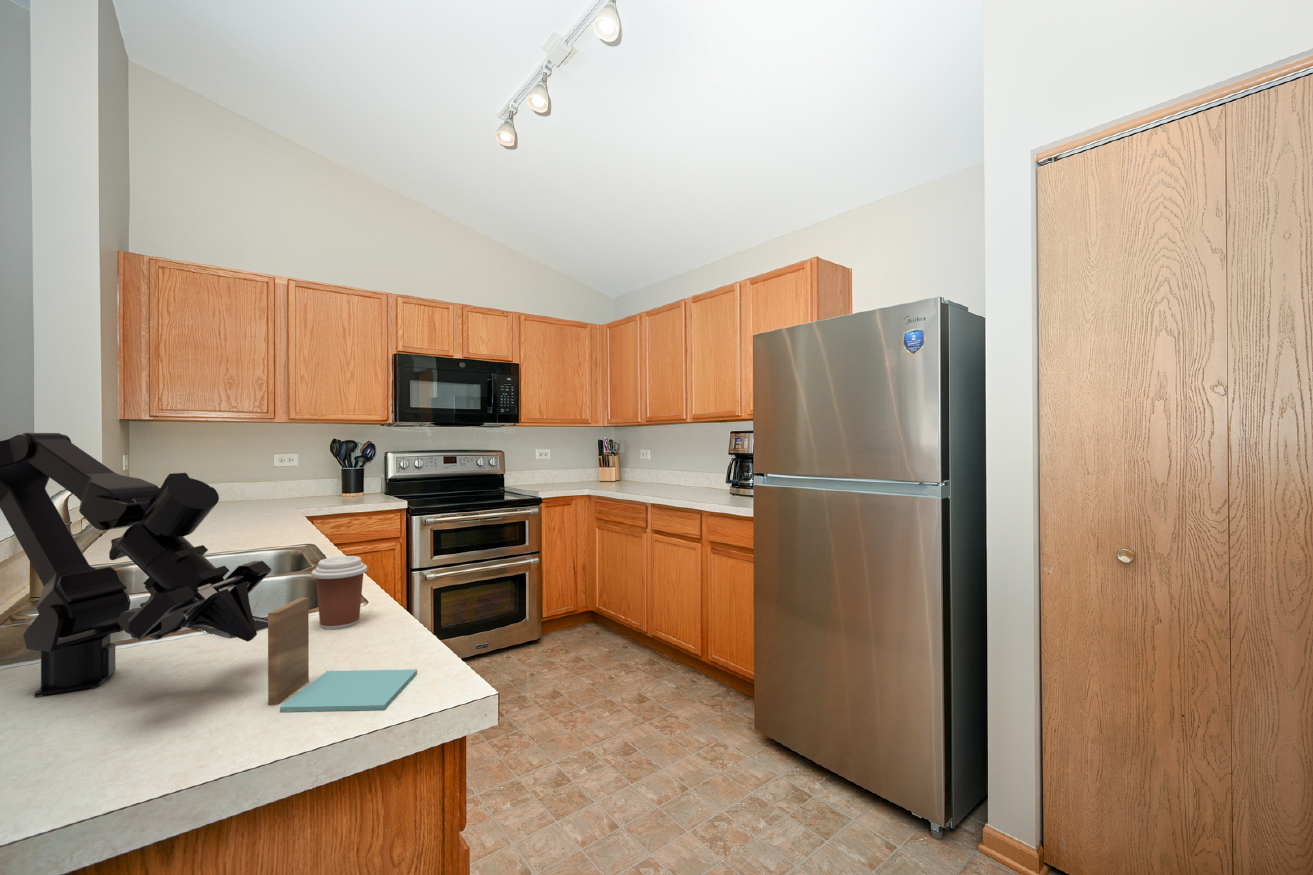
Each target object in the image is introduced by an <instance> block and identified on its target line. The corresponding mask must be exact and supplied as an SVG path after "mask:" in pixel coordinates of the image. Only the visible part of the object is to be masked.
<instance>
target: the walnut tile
mask: <svg viewBox="0 0 1313 875" xmlns="http://www.w3.org/2000/svg"><path fill="white" fill-rule="evenodd" d="M309 609H310V608H309V597H299V598H297V599H294V600H293V601H291V602H288V603H287V604H284V605H283V606H280V607H278V608H276V609H273V610H272V611H270V612H268V613H267V619H268V628H267V704H268V705H267V706H279V705H280V704H281V703H282V702H284V701H285V700H286V699H288V698H289V697H290V696H291V695H293V694H294V693H295V692H297V691H298V690H300V689H301V688H302V687H303V686H305V685H306V684H307V683H309V682H310V681H309V680H310V679H309V676H310V675H309V674H310V673H309V669H310V668H309V666H310V661H309V653H310V652H309V651H310V650H309V648H310V647H309V645H310V643H309V642H310V641H309V639H310V638H309V636H310V635H309V630H310V629H309V628H310V627H309V622H310V621H309V619H310V618H309V616H310V615H309V613H310V612H309Z"/></svg>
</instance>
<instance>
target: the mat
mask: <svg viewBox="0 0 1313 875" xmlns="http://www.w3.org/2000/svg"><path fill="white" fill-rule="evenodd" d="M417 674H418V669H369V670H368V669H364V670H363V669H362V670H361V669H360V670H357V669H356V670H355V669H354V670H326V671H325V672H324V673H322V674H321V675H320V676H319V677H317V678H316V679H314V680H313V681H312V682H310V684H308V685H306V686H305V687H304V688H303V689H301V690H300V691H298V693H296V694H295V695H294V696H292V697H291V698H290V699H288V700H287V701H286V702H284V704H282V705H281V706H280V707H279V713H287V712H288V713H289V712H290V713H293V712H295V713H296V712H298V713H299V712H336V711H340V712H341V711H347V712H348V711H349V712H350V711H385V709H387V707H389V705H390V704H391V703H392V701H393V700H394V699H396V697H398V695H399V694H400V693H401V692H403V689H405V687H407V685H408V684H409V683H410V682H411V681H412V680H413V678H415V677H416V675H417Z"/></svg>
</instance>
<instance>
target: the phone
mask: <svg viewBox="0 0 1313 875" xmlns="http://www.w3.org/2000/svg"><path fill="white" fill-rule="evenodd" d="M252 616H253V620H254V624H255V628H256V632H257V633H258V632H260V631H263V630H266V629H267V630H268V618H265V617H260V616H256V615H252ZM264 618H265V619H264ZM255 620H256V621H255ZM209 627H210V626H207V625H193V626H187V627H186V628H187V629H191V630H194V629H202V630H205V631H206V632H207V633H206V632H205V633H206V634H210V635H213V634H215V635H214V636H217V635H218V637H221V638H226V639H235V638H237V637H235V636H233V635H230V634H228V633H226V632H223V631H221V630H218V629H216V628H210V629H209ZM197 631H199V632H202V631H201V630H197Z"/></svg>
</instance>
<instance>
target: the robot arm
mask: <svg viewBox="0 0 1313 875" xmlns="http://www.w3.org/2000/svg"><path fill="white" fill-rule="evenodd" d="M50 479H51V480H52V481H54V482H55V483H57V484H58V485H59V486H61V487H62V488H64V489H65V490H67V492H69V493H70V494H71V495H74V497H76V498H77V499H78V500H79V501H80V503H79V510H78V511H79V513H80V514H81V516H83V517H84V518H85V520H86V521H87V522H88V523H89V524H90V525H91V526H92V527H93V528H95V529H96V530H99V531H108V530H109V531H110V530H117V529H123V528H125V529H126V528H127V529H126V530H125V531H124V533H123V534H122V535H121V536H119V537H116V538H112V539H111V541H110V543H111V547H110V550H109V553H108V555H109V560H111V561H115V560H118V559H121V558H124V557H128V559H129V560H131V562H132V563H134V564H135V565H136V566H137V567H138V568H139V569H140V570H141V571H142V572H143V573H144V574H145V575H147V577H148V578H147V579H146V580H145V581H144V582H143V584H144V585H145V586H144V589H146V591H147V592H148V593H149V594H150V596H149V597H148V599H147V600H146V601H145V602H142V603H140V604H139V607H134V608H131V609H130V607H131V603H132V602H131V599H130V596H129V594H128V593H127V592H126V590H127V586H126V585H125V584H123V583H122V581H121V580H120V578H119V576H118V573H117V571H116V569H114V568H113V567H111V566H108V567H106V566H105V567H102V568H96V567H94V566H91V565H90V564H89V562H88V560H87V558H86V557H85V555H84V553H83V551H82V550H81V548H80V547H79V545H78V543H77V541H76V540H75V538H74V536H73V535H72V532H71V531H70V529H69V527H68V525H67V524H66V522H65V521H64V519H63V516H61V514H60V513H59V511H58V509H57V507H56V505H55V504H54V502H53V500H52V498H51V496H50V495H49V493H48V491H47V489H46V487H47V485H48V482H49V480H50ZM219 496H220V495H219V493H218V492H217V490H216V489H215V488H214V487H212V486H210V485H209V484H207V483H206V482H204V481H202V480H199V479H196V478H193V477H190V476H189V475H188V473H187V472H174V473H169V474H168V475H167V476H166V477H165V478H164V481H163V483H162V485H161V486H160V487H159V486H158V485H157V484H154V483H152V482H149V481H147V480H144V479H142V478H140V477H139V478H138V477H134V476H133V477H132V476H126V475H122V474H119V473H117V472H115V471H113V470H112V469H110V468H109V467H108V466H106V465H105V464H103V463H101V462H100V461H98V460H97V459H96V458H94V457H93V456H92V455H90V454H88V453H87V452H85V451H84V450H83V449H81V448H80V447H78V446H77V445H75V443H72V440H71V438H70V437H69V436H68V435H67V434H63V433H60V432H24V433H21V434H16V435H14V436H12V437H10V438H7V439H5V440H0V510H1V512H2V514H3V516H4V517H5V519H6V521H7V523H8V525H9V526H10V528H11V530H12V532H13V534H14V535H15V538H16V539H17V541H18V543H19V544H20V546H21V548H22V549H23V552H24V554H25V555H26V556H27V558H28V560H29V562H30V564H31V566H32V567H33V569H34V572H35V573H36V574H37V576H38V579H40V582H41V583H42V586H43V588H42V591H41V594H40V596H39V599H38V601H37V605H36V609H37V610H36V611H37V613H38V615H37V616H36V617H35V618H34V620H33V621H32V622H31V623H30V625H29V626H28V627H27V629H26V630H25V631H24V632H23V639H24V643H25V647H26V650H31V651H36V652H37V651H39V652H40V688H38V689H37V690H36V691H34V693H33V695H34V696H33V697H39V696H45V695H52V694H59V693H65V692H73V691H80V690H85V689H93V688H97V687H99V686H101V685H102V683H104V682H105V681H106V680H107V679H108V678H109V677H110V676H111V675H112V674H114V672H116V643H115V642H112V643H111V639H112V638H111V635H112V634H116V633H121V632H123V631H124V632H125V633H126V634H129V635H130V637H131V638H132V639H137V640H138V641H142V640H144V639H147V638H151V639H154V640H156V641H157V640H160V639H162V638H163V637H165V636H167V635H169V634H175V633H177V632H179V631H181V630H182V629H183V628H187V626H193V625H207V626H210V627H213V628H216V629H218V630H221V631H223V632H226V633H228V634H230V635H233V636H235V637H236V638H238V639H239V640H242V641H245V642H250V641H253V640H254V639H255V638H256V637H257V635H258V631H257V632H256V628H255V624H254V620H253V616H254V615H253V613H252V608H251V604H250V597H249V594H250V593H251V592H252V591H253V590H254V589H255V588H256V587H257V586H259V584H260V583H261V581H263V580H264V579H265V578H266V577H267V576H269V574H270V573H271V572H272V570H273V569H272V567H270V566H269V565H268V564H267V563H266V562H265V561H263V560H253V561H250V562H249V561H248V562H246V563H243V564H241V565H238V566H237V567H236V568H234V570H233V571H232V572H231V573H230V574H229V575H227V574H228V573H229V572H230V569H229V568H228V567H227V566H225V565H222V566H219V567H216V566H215V565H213V563H212V562H211V561H210V560H208V558H206V557H205V556H204V555H205V554H206V553H207V552H208V551H209V549H208V548H206V546H205V545H203V544H202V545H198V546H194V545H193V544H192V543H191V542H190V541H188V539H186V537H185V536H189V535H191V534H193V533H194V532H195V531H196V530H197V528H199V526H200V525H201V523H202V522H203V521H204V520H205V518H207V516H208V515H209V514H210V513H211V511H212V510H213V509H214V508H215V506H217V504H218V502H219V500H220V497H219ZM226 575H227V577H226V578H224V577H225V576H226Z"/></svg>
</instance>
